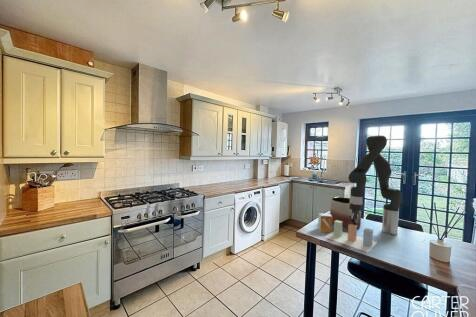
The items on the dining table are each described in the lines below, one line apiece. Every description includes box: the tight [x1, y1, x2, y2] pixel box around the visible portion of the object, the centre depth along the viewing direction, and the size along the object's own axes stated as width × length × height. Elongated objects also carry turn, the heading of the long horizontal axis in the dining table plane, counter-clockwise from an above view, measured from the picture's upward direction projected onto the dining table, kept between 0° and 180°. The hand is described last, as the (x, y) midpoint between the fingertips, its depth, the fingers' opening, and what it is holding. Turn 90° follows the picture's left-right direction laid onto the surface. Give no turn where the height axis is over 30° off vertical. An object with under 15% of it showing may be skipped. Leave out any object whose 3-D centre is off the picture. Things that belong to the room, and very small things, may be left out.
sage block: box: [333, 220, 343, 237], centre depth 140 cm, size 4×4×10 cm
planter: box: [329, 196, 362, 229], centre depth 164 cm, size 22×22×20 cm
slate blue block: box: [362, 227, 374, 247], centre depth 127 cm, size 4×4×10 cm
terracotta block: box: [347, 224, 358, 242], centre depth 133 cm, size 4×4×10 cm
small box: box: [317, 212, 333, 233], centre depth 148 cm, size 8×6×13 cm
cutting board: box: [324, 230, 378, 253], centre depth 134 cm, size 20×26×1 cm
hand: (354, 227), depth 136 cm, fingers closed
